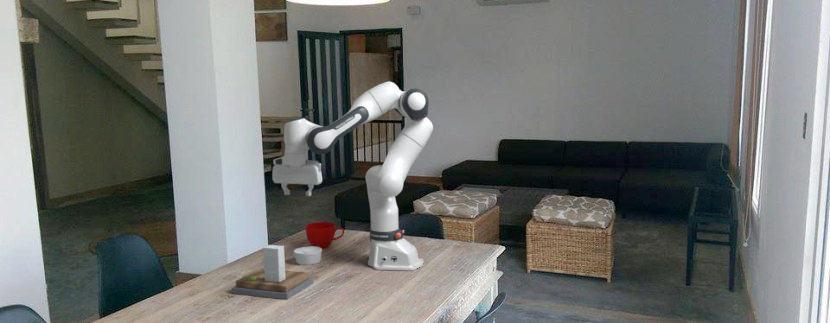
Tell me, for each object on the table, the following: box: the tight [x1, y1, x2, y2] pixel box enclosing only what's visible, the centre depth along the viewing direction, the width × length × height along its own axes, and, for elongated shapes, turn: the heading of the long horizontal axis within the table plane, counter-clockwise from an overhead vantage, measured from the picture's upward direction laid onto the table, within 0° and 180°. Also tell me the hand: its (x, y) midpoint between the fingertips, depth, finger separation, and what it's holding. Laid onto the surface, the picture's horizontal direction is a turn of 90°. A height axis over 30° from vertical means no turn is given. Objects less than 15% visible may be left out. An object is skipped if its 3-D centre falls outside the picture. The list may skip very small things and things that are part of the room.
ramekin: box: [293, 245, 323, 266], centre depth 255 cm, size 11×11×5 cm
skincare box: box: [262, 244, 286, 282], centre depth 218 cm, size 6×4×12 cm
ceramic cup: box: [305, 221, 345, 250], centre depth 277 cm, size 13×17×10 cm
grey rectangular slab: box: [231, 277, 314, 300], centre depth 223 cm, size 22×18×2 cm
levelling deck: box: [235, 267, 310, 292], centre depth 222 cm, size 20×16×4 cm
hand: (297, 195), depth 244 cm, fingers open, 8 cm apart
